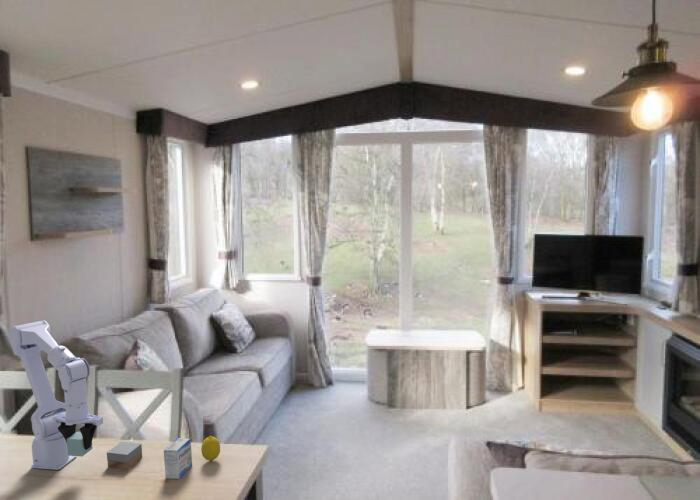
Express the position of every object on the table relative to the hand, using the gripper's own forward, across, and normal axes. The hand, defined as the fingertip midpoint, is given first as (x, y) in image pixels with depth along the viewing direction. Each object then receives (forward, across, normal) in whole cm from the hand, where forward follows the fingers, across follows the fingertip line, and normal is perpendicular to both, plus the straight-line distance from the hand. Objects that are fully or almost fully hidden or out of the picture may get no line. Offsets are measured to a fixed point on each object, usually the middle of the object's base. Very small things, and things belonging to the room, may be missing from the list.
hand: (80, 447), depth 152 cm
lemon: (+9, +34, +13) cm, 37 cm away
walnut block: (+9, +8, +9) cm, 15 cm away
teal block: (+1, 0, 0) cm, 1 cm away
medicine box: (+9, +27, +6) cm, 29 cm away
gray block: (+7, +8, +9) cm, 14 cm away
